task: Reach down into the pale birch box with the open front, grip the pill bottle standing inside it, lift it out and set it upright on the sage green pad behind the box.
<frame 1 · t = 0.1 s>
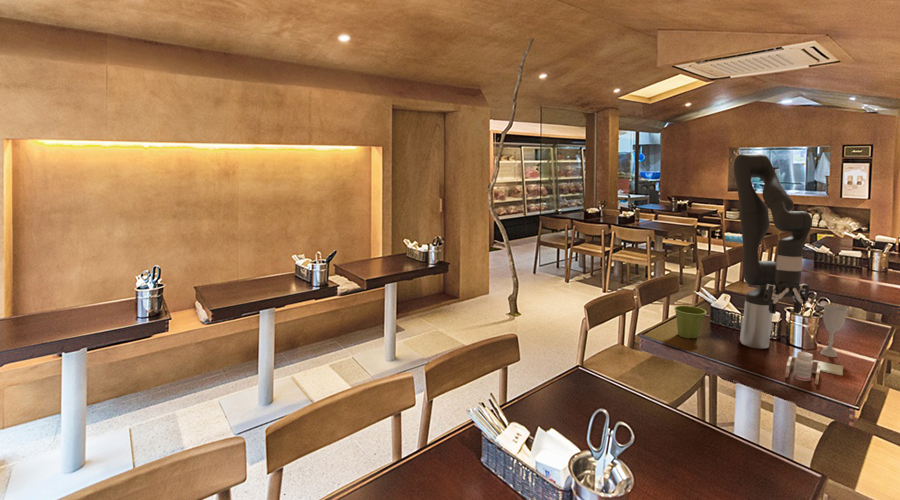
hand: (784, 313, 165), 17 cm above the table, tool pointing down, fingers open, 8 cm apart
pill bottle: (801, 378, 153), on the table
plant pot: (687, 336, 192), on the table
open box: (801, 377, 153), on the table
chalice: (828, 354, 172), on the table
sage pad: (827, 368, 160), on the table
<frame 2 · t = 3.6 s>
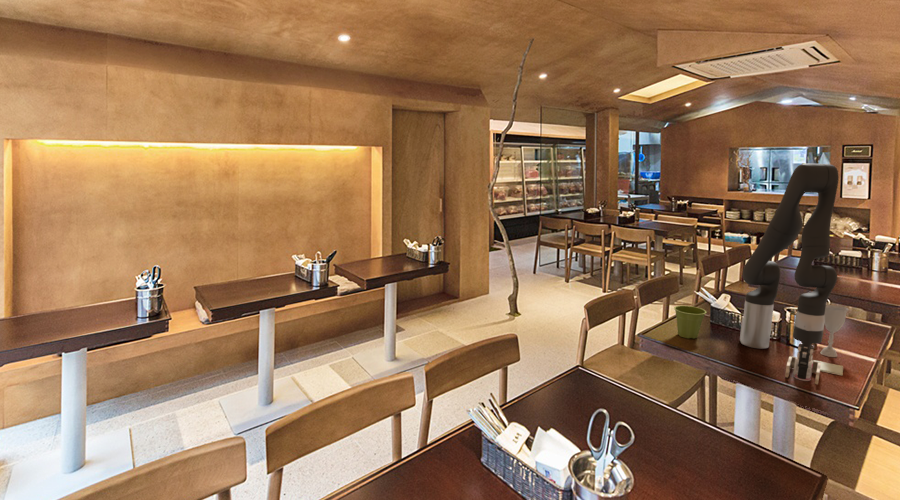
hand: (802, 375, 153), 1 cm above the table, tool pointing down, fingers closed on pill bottle, 4 cm apart
pill bottle: (801, 378, 153), on the table, touching gripper
everything else where it was.
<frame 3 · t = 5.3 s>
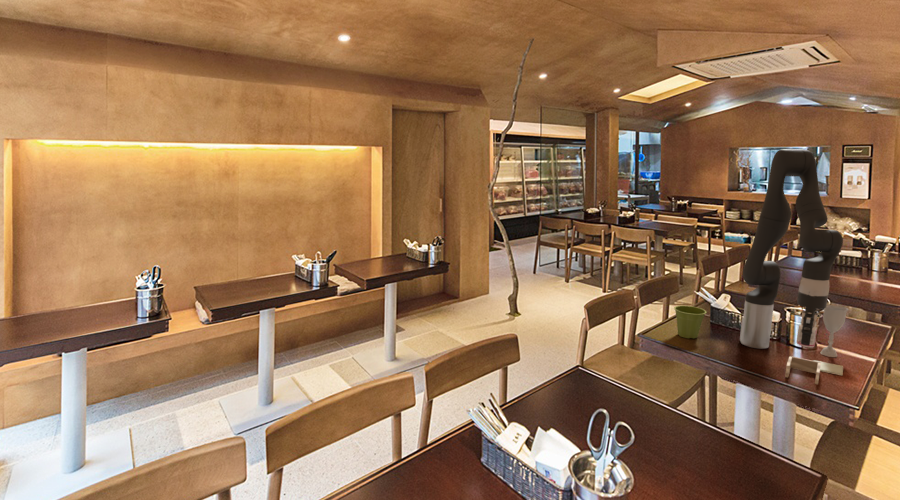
hand: (805, 341, 151), 12 cm above the table, tool pointing down, fingers closed on pill bottle, 4 cm apart
pill bottle: (805, 345, 152), point 11 cm above the table, touching gripper
everything else where it was.
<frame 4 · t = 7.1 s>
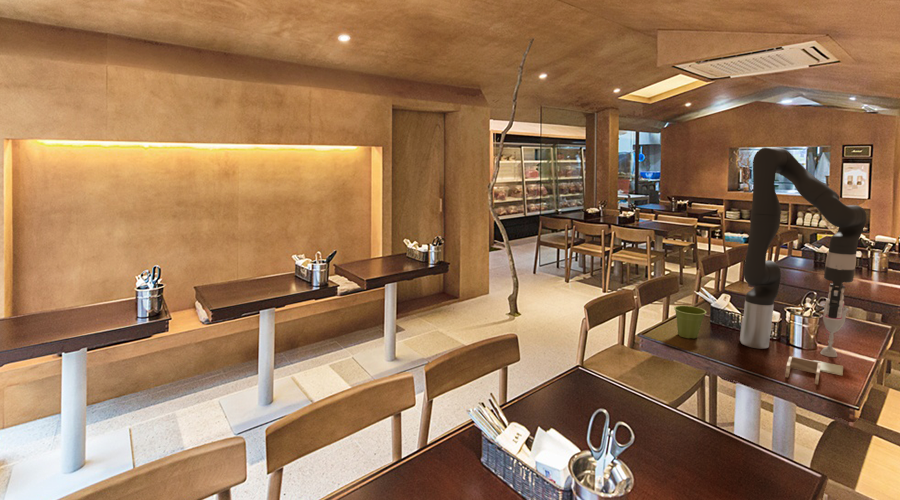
hand: (832, 315, 156), 19 cm above the table, tool pointing down, fingers closed on pill bottle, 4 cm apart
pill bottle: (832, 318, 156), point 18 cm above the table, touching gripper
everything else where it was.
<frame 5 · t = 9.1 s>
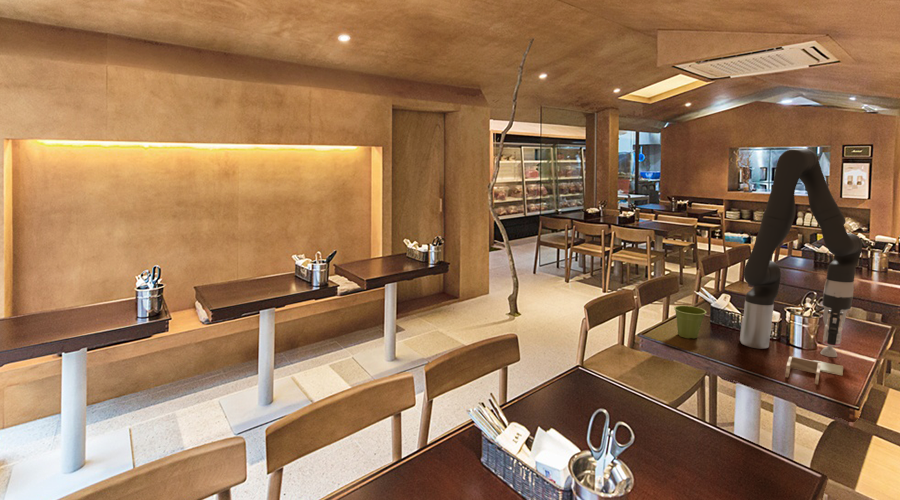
hand: (831, 341, 158), 10 cm above the table, tool pointing down, fingers closed on pill bottle, 4 cm apart
pill bottle: (831, 345, 158), point 9 cm above the table, touching gripper
everything else where it was.
when the fingers open (3 cm above the table, at t = 10.8 s): pill bottle drops 1 cm, resting on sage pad.
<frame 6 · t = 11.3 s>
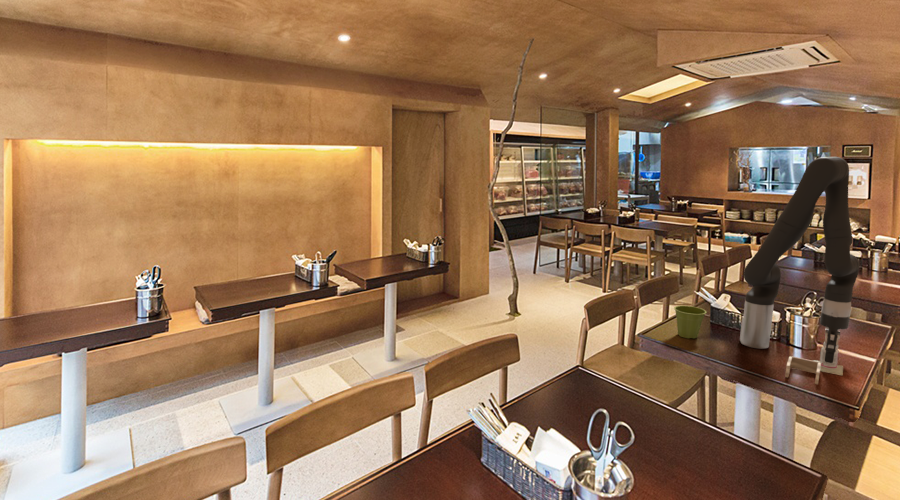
hand: (829, 358, 159), 4 cm above the table, tool pointing down, fingers open, 8 cm apart
pill bottle: (827, 367, 160), resting on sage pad
everything else where it was.
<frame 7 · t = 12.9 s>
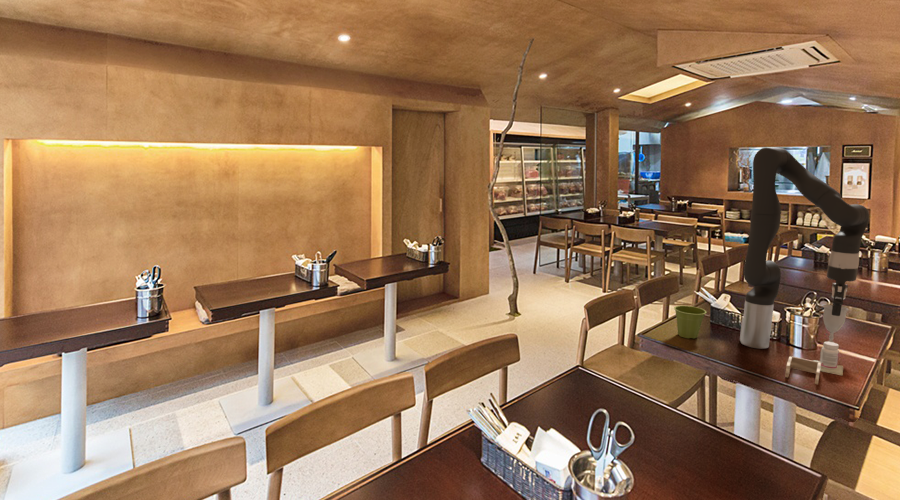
hand: (835, 312, 156), 20 cm above the table, tool pointing down, fingers open, 8 cm apart
nothing on the table moved.
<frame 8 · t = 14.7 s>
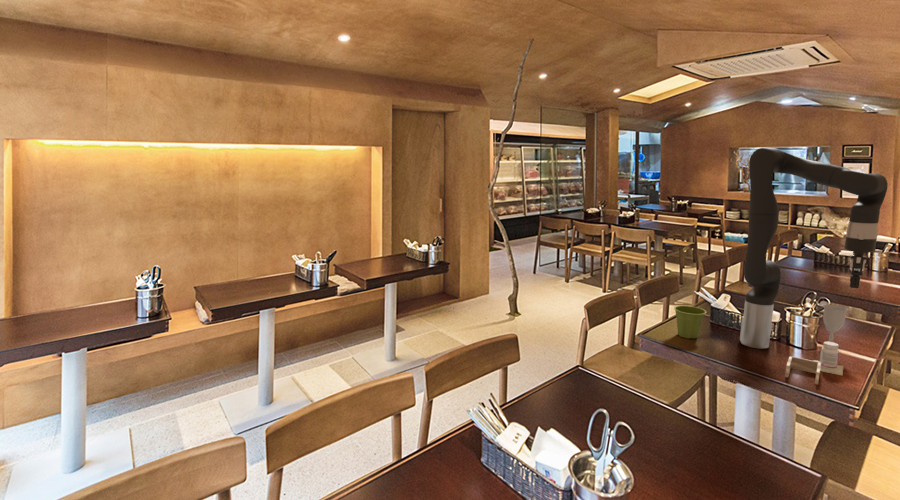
hand: (854, 285, 153), 30 cm above the table, tool pointing down, fingers open, 8 cm apart
nothing on the table moved.
at the end: pill bottle 0.1 cm from the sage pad (horizontally); pill bottle tilted 0°; the gripper is holding nothing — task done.
